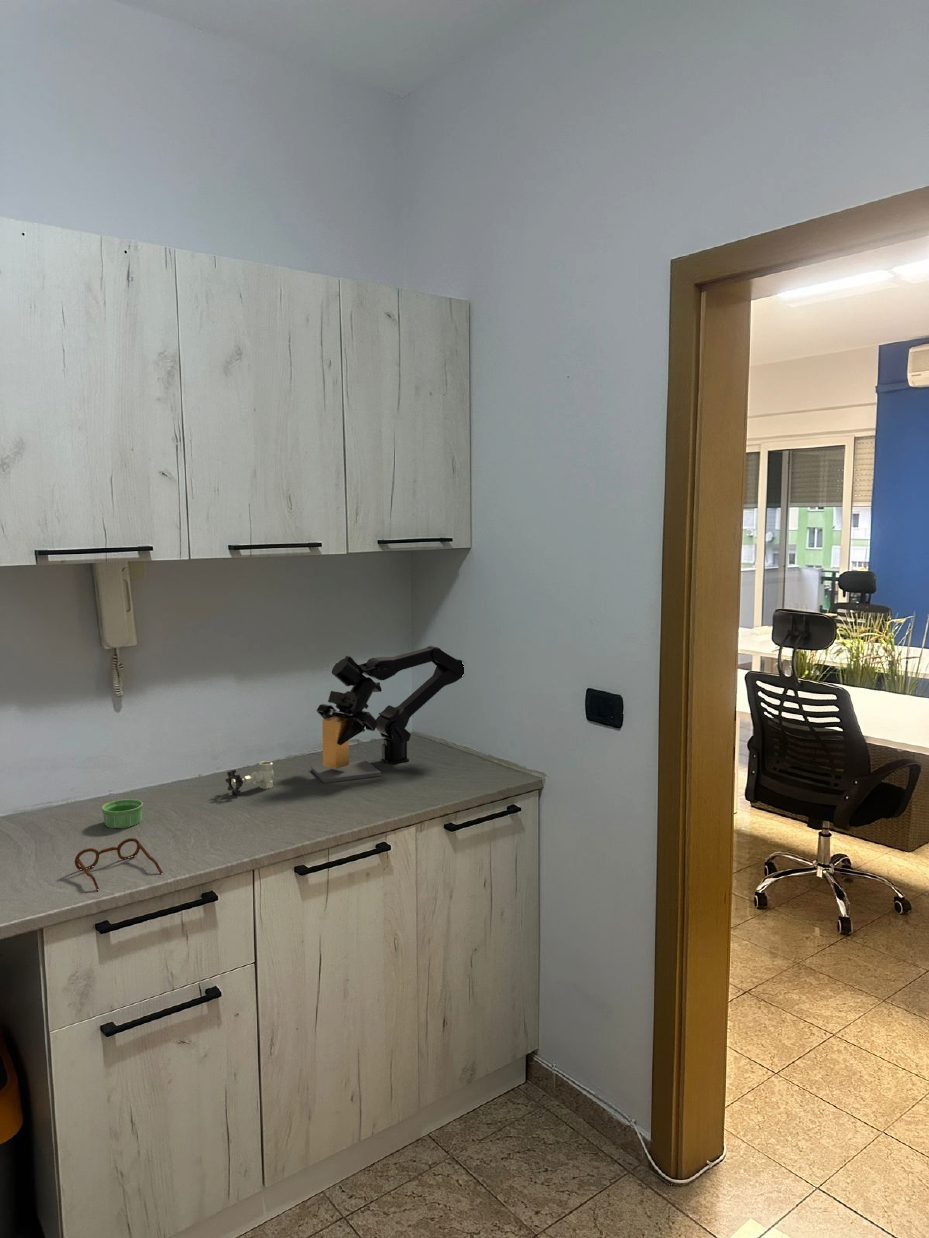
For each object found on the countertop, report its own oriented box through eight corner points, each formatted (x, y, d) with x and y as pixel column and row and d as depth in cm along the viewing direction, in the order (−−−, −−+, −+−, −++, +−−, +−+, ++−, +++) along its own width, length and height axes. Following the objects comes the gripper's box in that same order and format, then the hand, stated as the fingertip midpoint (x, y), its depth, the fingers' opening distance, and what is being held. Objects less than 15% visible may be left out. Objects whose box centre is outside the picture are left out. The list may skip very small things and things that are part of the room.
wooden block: (335, 761, 249) (335, 715, 247) (348, 764, 246) (348, 719, 244) (322, 765, 245) (322, 719, 243) (335, 769, 242) (335, 722, 240)
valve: (266, 782, 238) (225, 792, 230) (265, 758, 237) (225, 767, 229) (279, 788, 234) (239, 798, 225) (279, 763, 233) (238, 773, 224)
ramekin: (98, 831, 202) (97, 812, 202) (106, 818, 211) (105, 800, 210) (140, 828, 204) (139, 810, 203) (146, 815, 213) (145, 797, 212)
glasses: (139, 857, 188) (138, 834, 188) (164, 876, 179) (163, 852, 178) (74, 873, 180) (73, 850, 179) (97, 894, 170) (95, 869, 169)
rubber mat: (365, 763, 256) (365, 760, 256) (381, 775, 244) (381, 772, 244) (311, 770, 249) (311, 766, 249) (324, 783, 238) (324, 779, 238)
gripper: (320, 675, 251) (292, 721, 243) (369, 683, 240) (341, 731, 232) (340, 698, 258) (313, 743, 251) (389, 706, 247) (362, 754, 240)
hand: (332, 742), depth 243 cm, fingers closed on wooden block, 5 cm apart
